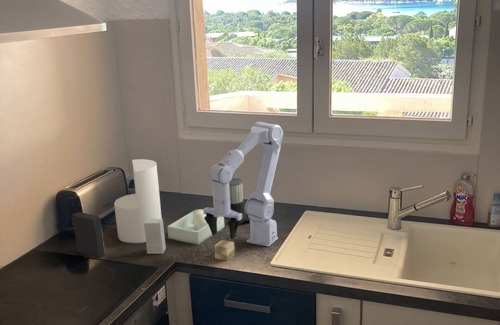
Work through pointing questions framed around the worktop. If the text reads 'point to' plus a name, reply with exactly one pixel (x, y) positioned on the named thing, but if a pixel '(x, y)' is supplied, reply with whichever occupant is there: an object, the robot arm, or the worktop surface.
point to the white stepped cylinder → (139, 203)
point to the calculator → (88, 234)
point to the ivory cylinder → (199, 219)
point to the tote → (191, 230)
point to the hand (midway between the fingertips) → (223, 236)
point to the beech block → (224, 250)
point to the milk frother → (237, 197)
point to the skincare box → (154, 236)
